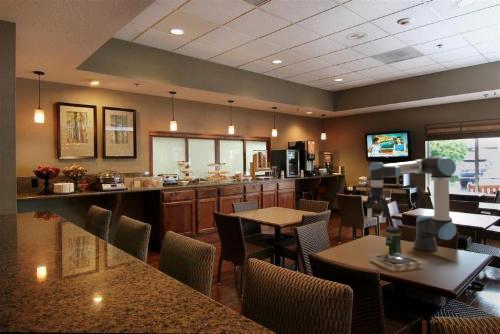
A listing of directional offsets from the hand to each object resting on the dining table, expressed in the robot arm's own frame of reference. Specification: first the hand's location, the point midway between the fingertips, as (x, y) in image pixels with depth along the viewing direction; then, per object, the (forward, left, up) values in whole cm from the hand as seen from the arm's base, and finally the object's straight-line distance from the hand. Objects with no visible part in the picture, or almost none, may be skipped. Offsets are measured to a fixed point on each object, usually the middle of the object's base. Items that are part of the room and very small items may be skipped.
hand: (376, 220), depth 202 cm
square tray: (-6, +10, -25) cm, 28 cm away
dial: (-6, +10, -23) cm, 26 cm away
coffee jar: (-18, -7, -26) cm, 32 cm away
